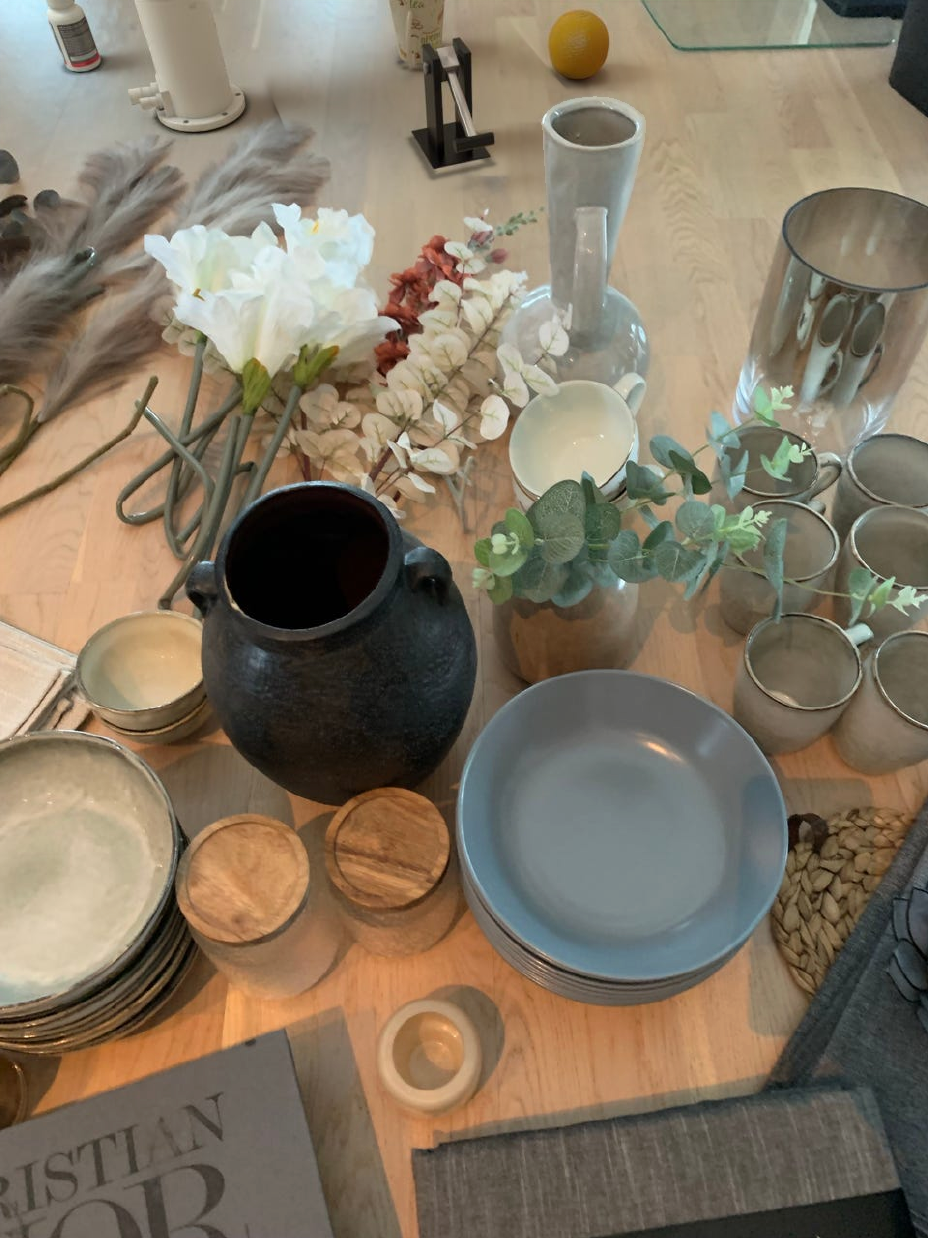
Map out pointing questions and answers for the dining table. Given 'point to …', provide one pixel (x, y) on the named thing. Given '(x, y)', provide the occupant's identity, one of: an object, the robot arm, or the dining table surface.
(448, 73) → the lever
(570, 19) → the fruit
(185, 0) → the robot arm
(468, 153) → the black lever stand
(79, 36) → the pill bottle
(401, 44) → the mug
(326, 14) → the dining table surface
